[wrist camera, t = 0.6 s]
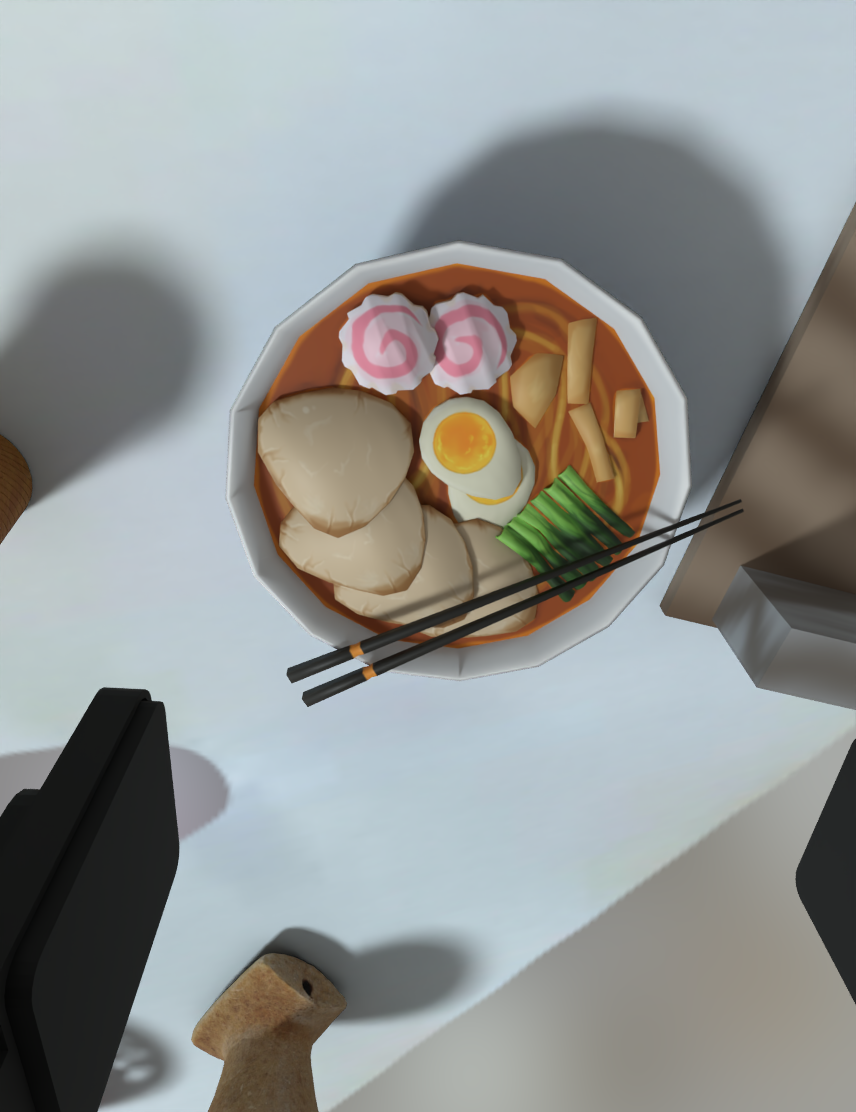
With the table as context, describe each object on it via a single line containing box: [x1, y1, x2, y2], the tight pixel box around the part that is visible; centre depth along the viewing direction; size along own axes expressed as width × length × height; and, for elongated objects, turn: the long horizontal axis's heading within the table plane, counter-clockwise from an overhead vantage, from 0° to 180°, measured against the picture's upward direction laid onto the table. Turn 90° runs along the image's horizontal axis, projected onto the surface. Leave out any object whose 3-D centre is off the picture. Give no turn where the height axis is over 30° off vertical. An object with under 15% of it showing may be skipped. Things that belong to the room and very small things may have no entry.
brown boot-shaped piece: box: [191, 953, 347, 1112], centre depth 61 cm, size 15×12×15 cm
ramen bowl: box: [225, 240, 744, 707], centre depth 40 cm, size 25×23×8 cm
